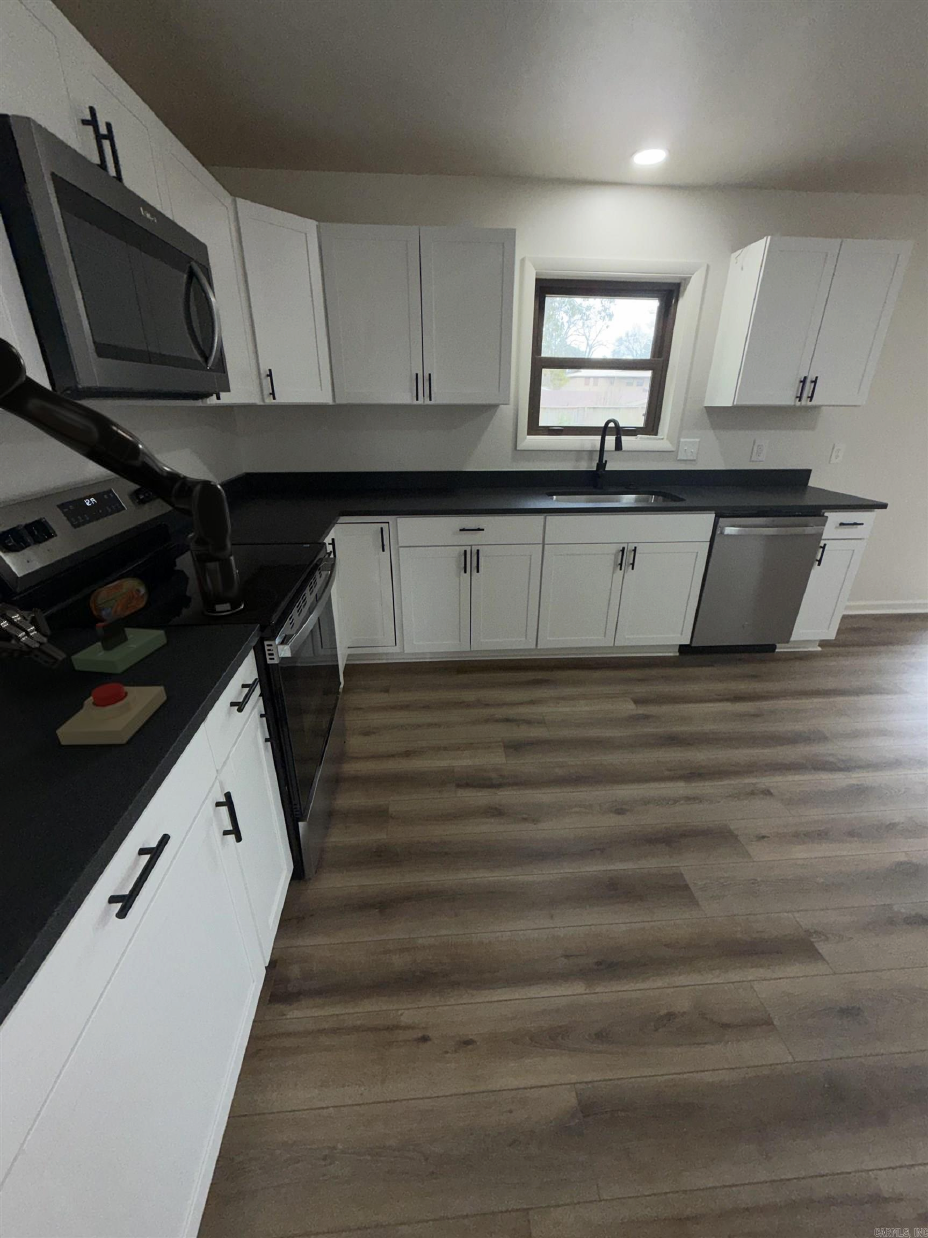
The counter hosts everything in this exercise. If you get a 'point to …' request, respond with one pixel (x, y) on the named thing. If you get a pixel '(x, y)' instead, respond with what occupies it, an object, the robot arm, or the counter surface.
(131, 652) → the panel
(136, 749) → the counter surface
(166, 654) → the counter surface
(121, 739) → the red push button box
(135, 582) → the tin
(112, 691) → the power button
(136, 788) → the counter surface
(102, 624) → the black upright block
